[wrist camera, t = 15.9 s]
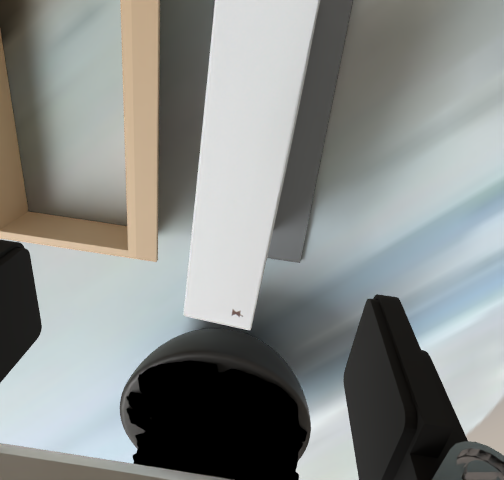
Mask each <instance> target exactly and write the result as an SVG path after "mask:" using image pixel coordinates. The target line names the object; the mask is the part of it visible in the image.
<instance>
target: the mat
mask: <svg viewBox="0 0 504 480" xmlns="http://www.w3.org/2000/svg"><path fill="white" fill-rule="evenodd" d="M352 3H353V0H320V4H319V9H318V14H317V19H316V24H315V29H314V34H313V39H312V44H311V49H310V54H309V60H308V65H307V71H306V76H305V80H304V85H303V90H302V95H301V100H300V105H299V110H298V115H297V120H296V125H295V130H294V134H293V139H292V144H291V149H290V154H289V158H288V163H287V168H286V173H285V178H284V182H283V187H282V192H281V196H280V201H279V205H278V210H277V215H276V219H275V224H274V228H273V233H272V237H271V242H270V246H269V251H268V255H267V258H271V259H278V260H284V261H291V262H298V263H300V261H301V256H302V251H303V246H304V241H305V236H306V231H307V226H308V221H309V216H310V211H311V206H312V201H313V196H314V191H315V186H316V181H317V176H318V171H319V166H320V161H321V156H322V152H323V147H324V142H325V137H326V132H327V127H328V122H329V117H330V112H331V107H332V102H333V97H334V92H335V87H336V82H337V77H338V72H339V67H340V62H341V57H342V52H343V47H344V42H345V37H346V32H347V27H348V23H349V18H350V13H351V8H352ZM214 7H215V0H214ZM214 7H213V17H214ZM212 27H213V23H212Z"/></svg>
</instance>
